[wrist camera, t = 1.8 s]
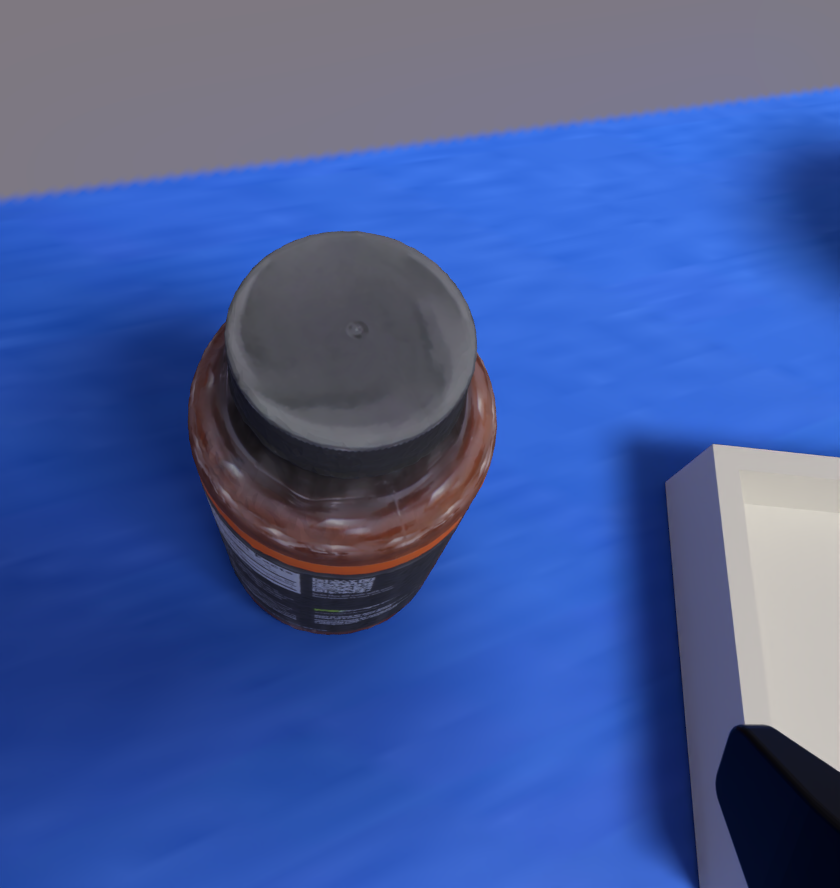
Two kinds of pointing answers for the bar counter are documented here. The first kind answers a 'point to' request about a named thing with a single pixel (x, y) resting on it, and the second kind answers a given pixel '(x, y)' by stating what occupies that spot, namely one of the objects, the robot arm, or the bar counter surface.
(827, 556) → the tray
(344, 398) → the supplement bottle
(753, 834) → the robot arm
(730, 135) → the bar counter surface
